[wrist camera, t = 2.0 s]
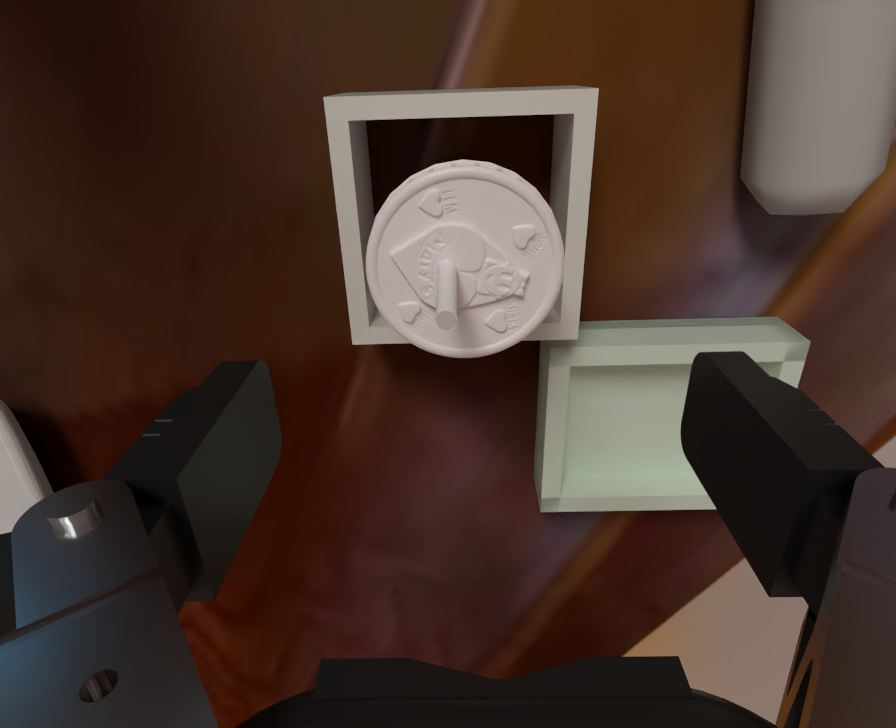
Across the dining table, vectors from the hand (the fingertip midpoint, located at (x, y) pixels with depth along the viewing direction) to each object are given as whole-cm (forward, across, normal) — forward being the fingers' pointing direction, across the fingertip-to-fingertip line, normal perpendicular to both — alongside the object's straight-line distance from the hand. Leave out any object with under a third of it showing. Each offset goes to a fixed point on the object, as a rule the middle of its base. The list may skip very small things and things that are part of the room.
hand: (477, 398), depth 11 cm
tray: (+18, -10, +11) cm, 23 cm away
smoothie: (+18, 0, 0) cm, 18 cm away
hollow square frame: (+18, 0, 0) cm, 18 cm away
